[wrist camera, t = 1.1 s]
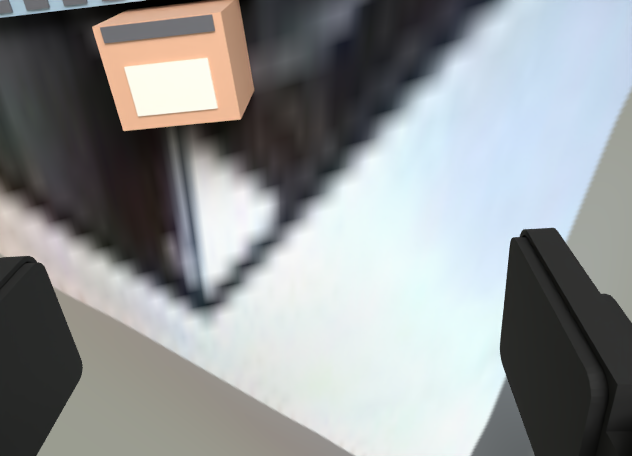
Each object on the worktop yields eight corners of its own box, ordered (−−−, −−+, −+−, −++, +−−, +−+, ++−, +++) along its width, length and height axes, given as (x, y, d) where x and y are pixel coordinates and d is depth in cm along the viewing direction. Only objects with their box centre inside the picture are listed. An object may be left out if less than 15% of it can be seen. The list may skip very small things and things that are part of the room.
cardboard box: (128, 9, 29) (90, 27, 25) (238, -4, 29) (220, 12, 24) (152, 100, 32) (122, 131, 27) (254, 90, 31) (240, 120, 27)
